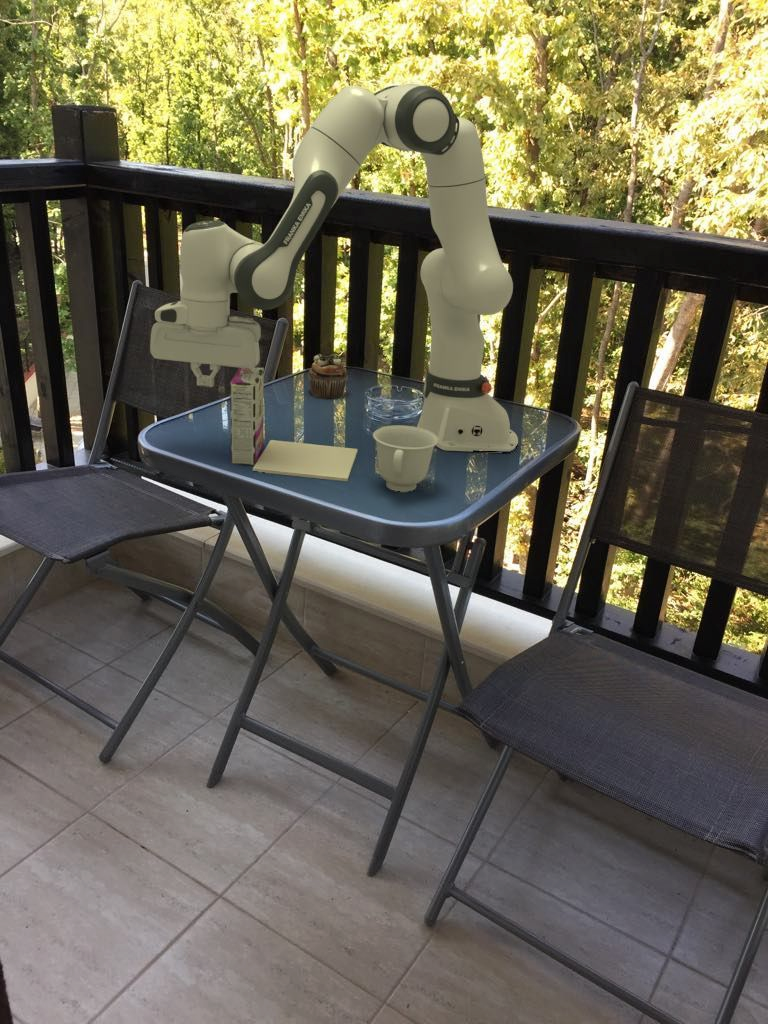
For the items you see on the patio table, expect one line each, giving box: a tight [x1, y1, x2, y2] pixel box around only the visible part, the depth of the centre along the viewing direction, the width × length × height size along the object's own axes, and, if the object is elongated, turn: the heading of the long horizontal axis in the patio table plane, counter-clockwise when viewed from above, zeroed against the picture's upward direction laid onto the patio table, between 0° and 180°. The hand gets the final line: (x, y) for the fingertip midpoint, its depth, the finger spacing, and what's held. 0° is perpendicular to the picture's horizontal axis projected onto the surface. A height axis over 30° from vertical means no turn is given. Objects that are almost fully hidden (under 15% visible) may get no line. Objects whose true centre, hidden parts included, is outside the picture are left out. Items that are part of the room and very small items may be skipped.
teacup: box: [372, 424, 439, 493], centre depth 158 cm, size 12×15×10 cm
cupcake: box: [307, 352, 348, 400], centre depth 208 cm, size 10×10×10 cm
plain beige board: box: [252, 439, 358, 482], centre depth 169 cm, size 18×16×1 cm
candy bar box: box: [229, 366, 265, 466], centre depth 166 cm, size 11×5×16 cm, turn 179°
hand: (205, 385), depth 164 cm, fingers closed
